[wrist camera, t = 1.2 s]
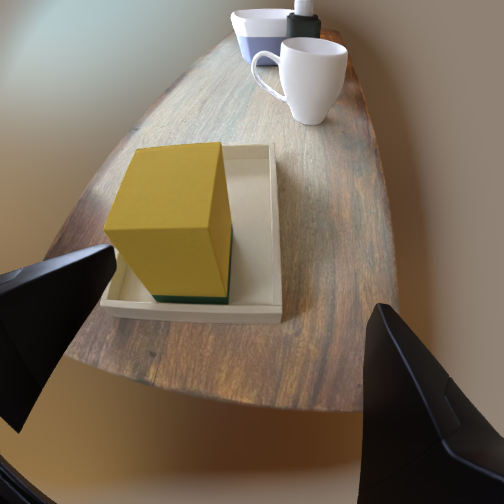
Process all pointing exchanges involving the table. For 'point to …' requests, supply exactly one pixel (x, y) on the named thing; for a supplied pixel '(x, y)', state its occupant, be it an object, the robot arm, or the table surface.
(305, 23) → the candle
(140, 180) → the block
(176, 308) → the tray
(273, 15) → the bowl
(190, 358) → the table surface
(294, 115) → the mug
